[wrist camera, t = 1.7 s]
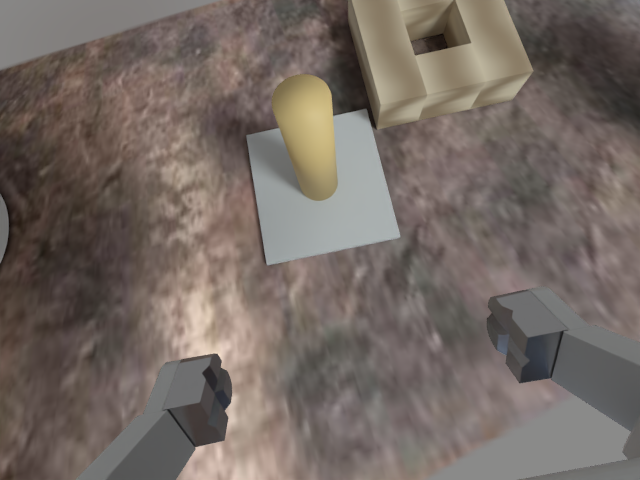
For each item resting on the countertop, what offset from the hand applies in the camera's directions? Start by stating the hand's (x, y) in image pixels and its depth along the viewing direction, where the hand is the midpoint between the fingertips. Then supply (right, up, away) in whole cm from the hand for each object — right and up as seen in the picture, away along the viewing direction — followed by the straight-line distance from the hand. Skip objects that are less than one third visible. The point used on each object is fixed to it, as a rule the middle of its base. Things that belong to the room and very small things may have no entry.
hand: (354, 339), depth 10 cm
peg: (-1, +8, +18) cm, 20 cm away
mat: (-1, +8, +19) cm, 20 cm away
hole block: (+9, +20, +21) cm, 30 cm away
